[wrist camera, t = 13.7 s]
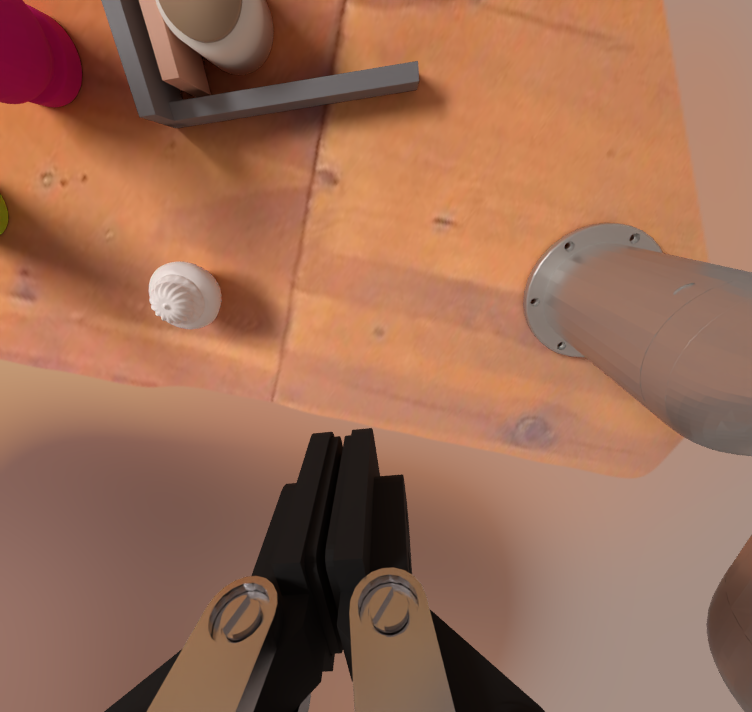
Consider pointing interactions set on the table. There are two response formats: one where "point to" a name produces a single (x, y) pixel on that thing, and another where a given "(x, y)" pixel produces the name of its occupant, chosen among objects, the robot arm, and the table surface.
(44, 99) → the pepper mill
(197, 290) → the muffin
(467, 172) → the table surface
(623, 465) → the table surface
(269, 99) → the frame
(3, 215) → the soap dispenser
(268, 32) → the jar
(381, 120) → the table surface
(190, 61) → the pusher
